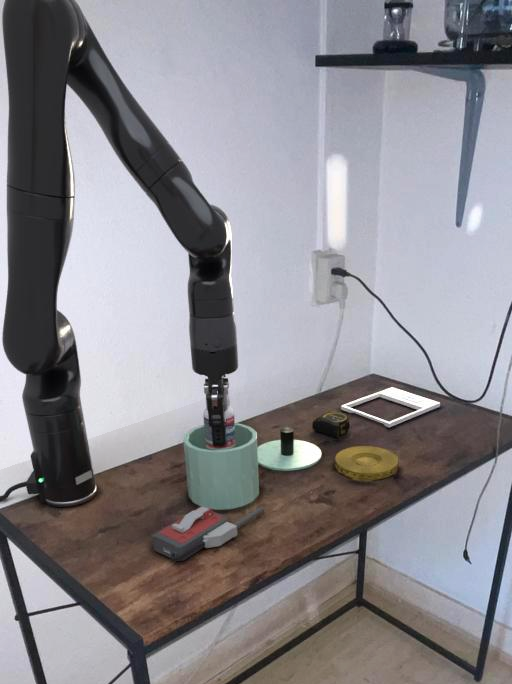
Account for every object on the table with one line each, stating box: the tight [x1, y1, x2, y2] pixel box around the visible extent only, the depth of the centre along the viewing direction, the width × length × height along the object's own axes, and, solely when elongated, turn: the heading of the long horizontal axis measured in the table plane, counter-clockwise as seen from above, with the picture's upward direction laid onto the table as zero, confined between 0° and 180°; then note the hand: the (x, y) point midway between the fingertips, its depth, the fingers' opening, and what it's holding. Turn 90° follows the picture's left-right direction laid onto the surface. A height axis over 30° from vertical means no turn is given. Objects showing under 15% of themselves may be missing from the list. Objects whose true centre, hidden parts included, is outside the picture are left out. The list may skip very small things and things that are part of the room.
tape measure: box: [312, 411, 351, 439], centre depth 147 cm, size 7×7×4 cm
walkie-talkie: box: [152, 506, 265, 562], centre depth 111 cm, size 9×4×20 cm
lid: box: [257, 427, 322, 472], centre depth 136 cm, size 14×14×6 cm
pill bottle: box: [202, 395, 236, 450], centre depth 117 cm, size 5×5×9 cm
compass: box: [334, 445, 399, 482], centre depth 132 cm, size 12×12×2 cm
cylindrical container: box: [182, 422, 260, 511], centre depth 121 cm, size 13×13×12 cm
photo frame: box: [340, 386, 441, 428], centre depth 159 cm, size 15×1×18 cm
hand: (220, 437), depth 119 cm, fingers closed on pill bottle, 5 cm apart
